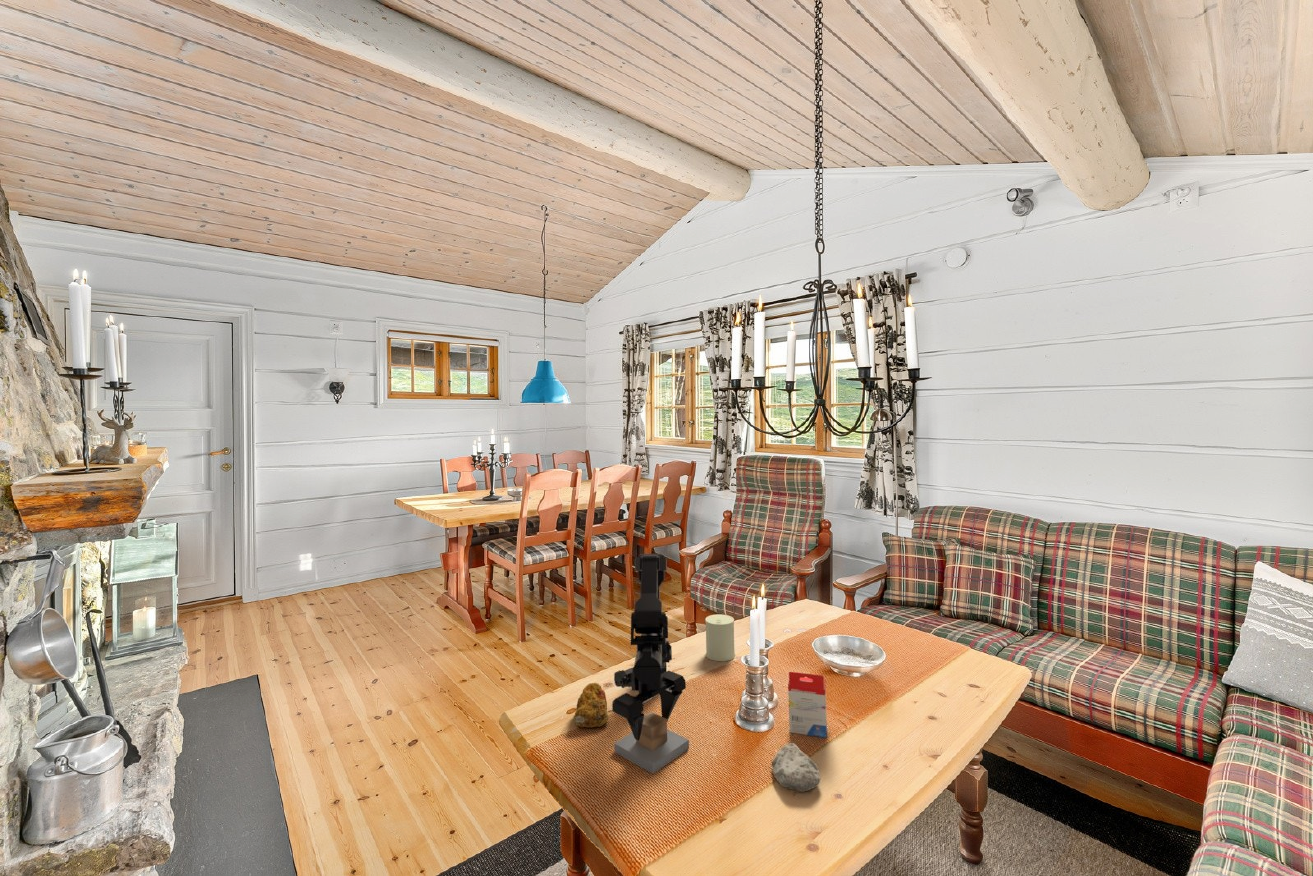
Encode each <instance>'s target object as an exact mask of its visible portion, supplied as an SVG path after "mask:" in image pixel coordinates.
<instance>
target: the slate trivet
mask: <svg viewBox="0 0 1313 876" xmlns="http://www.w3.org/2000/svg"><path fill="white" fill-rule="evenodd" d="M613 744H614V745H613V750H614V751H613V752H614V753H615V754H617V755H619V756H620V757H622V758H623V759H626V760H628V761H629V762H631V763H632V764H635V765H636V766H638V767H640V768H641V769H644V770H645V771H647V772H648V773H651V774H652V775H653V774H655V773H657V772H658V771H660V770H661V769H662V768H664V767H665V766H667V765H668V764H669V763H671V762H672V761H673V760H675V759H676V758H678V757H679V756H681V755H682V754H684V753H685V752H686V751H687V750H689V749H690V739H689V738H686V737H684V736H682V735H680V734H678V733H676V732H674V731H672V730H670V729H668V728H667V741H666V742H665V743H663V744H662V745H660V746H659V747H657V748H656V749H654V750H653V751H652V750H650V749H648V748H646V747H644V746H642V745H641V744H639V743H637V742H636V739H635V738H634V735H633V733H632V732H631V733H629V734H627V735H626V736H624V737H622V738H620V739H618V740H617V741H616V742H614V743H613Z"/></svg>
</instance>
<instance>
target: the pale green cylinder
mask: <svg viewBox="0 0 1313 876" xmlns="http://www.w3.org/2000/svg"><path fill="white" fill-rule="evenodd" d="M705 645H706V647H705V656H706V658H707V659H709V660H711V661H714V662H728V661H731V660H733V659H734V658H735V657H736V652H735V618H734V617H733V616H730V615H728V614H711V615H710V614H709V615H708V616H706V617H705Z"/></svg>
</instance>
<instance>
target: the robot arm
mask: <svg viewBox="0 0 1313 876" xmlns="http://www.w3.org/2000/svg"><path fill="white" fill-rule="evenodd" d="M667 559H668V558H667V556H665V555H664V554H662V553H640V554H639V555H638V557H634V572H636V573H638V574H637V575H638V581H639V582H640V597H639V598H638V599H637V600H636V601H635V602H634V608H633V609H634V610H633V612H631V614H630V646H636V653H635V659H634V662H633V663H634V665H633V667H630V668H628V669H626V670H624V669H622V670H620V669H619V670H618V671H616V672H614V675H613V676H614V678H613V680H614V684H615V686H616V688H617V687H621V689H625V688H631V691H634V692H637V693H638V694H636V695H632V694H630V693H627V692H625V693H623V694H621V695H620V696H618V697H615V698H614V699H613V700H612V712H613V713H615V714H617V715H619V716H621V717H623V718H624V719H626V721H627V723H628V725H629V728H630V731H631V733H633V735H634V738H635V739H636V740H639V739H640V736H641V730H642V725H643V719H644V715H645V714H644V713H643V711H644V704H645V703H646V702H648V701H650V700H651V699H653V698H656V697H657V696H659V698H660V709H661V710H660V711H661V717H664V718H666V719H667V722H668V721H669V720H670V716H671V715H672V712H673V710H674V709H675V706H676V704H677V702H678V700H679V699H680V696H681V695H682V694H683V690H686V687H687V684H686V679H685V677H684V675H682V674H679V673H676V672H674V671H671V670H667V663H668V664H669V663H670V661H672V660H673V658H672V657H673V650H672V649H673V648H672V645H671V644H670V641H669V640H667V639H668V638H669V622H668V621H669V619H668V617H669V616H667V613H666V612H665V611H663V603H662V601H661V600H660V599H661V597H660V596H661V595H660V586H661V585H662V584H663V583H664V580H665V572H668V571H667V570H668V567H667V565H668V563H667V561H668V560H667ZM635 634H637V635H635Z"/></svg>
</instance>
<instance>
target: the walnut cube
mask: <svg viewBox="0 0 1313 876" xmlns="http://www.w3.org/2000/svg"><path fill="white" fill-rule="evenodd" d="M667 729H668V721H667V719H666V718H664V717H662V715H659V714H657V713H655V712H653V711H649V712H648V713H646V714H644V719H643V725H642V730H641V736H640V739H639V740H636V742H637V743H639V744H641V745H642V746H644V747H646V748H648V749H650V750H652V751H653V750H654V749H656V748H657V747H659V746H660V745H662V744H663V743H665V742H666V741H667Z"/></svg>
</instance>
